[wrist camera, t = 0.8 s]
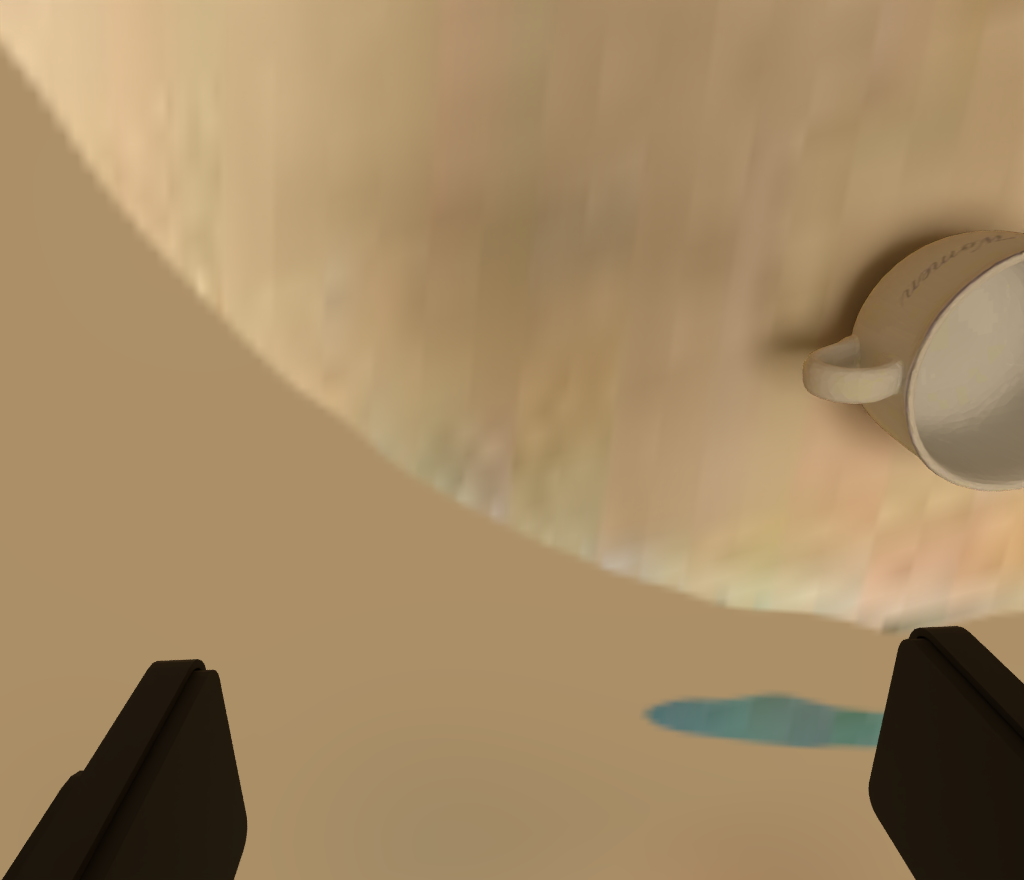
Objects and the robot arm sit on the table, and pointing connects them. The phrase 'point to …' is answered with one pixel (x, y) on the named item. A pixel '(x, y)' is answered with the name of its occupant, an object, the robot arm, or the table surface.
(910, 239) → the table surface
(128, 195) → the table surface
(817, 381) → the teacup
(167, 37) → the table surface
